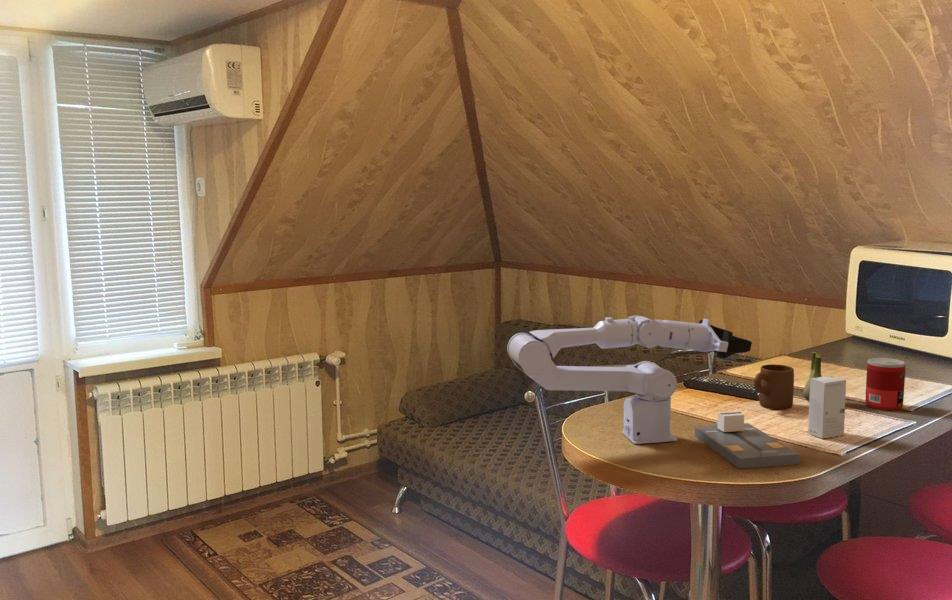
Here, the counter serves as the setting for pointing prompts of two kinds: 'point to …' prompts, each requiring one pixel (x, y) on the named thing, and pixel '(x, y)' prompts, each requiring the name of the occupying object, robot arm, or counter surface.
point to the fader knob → (730, 421)
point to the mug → (775, 386)
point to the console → (747, 447)
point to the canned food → (885, 384)
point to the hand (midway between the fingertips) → (740, 341)
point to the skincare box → (827, 406)
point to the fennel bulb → (813, 373)
